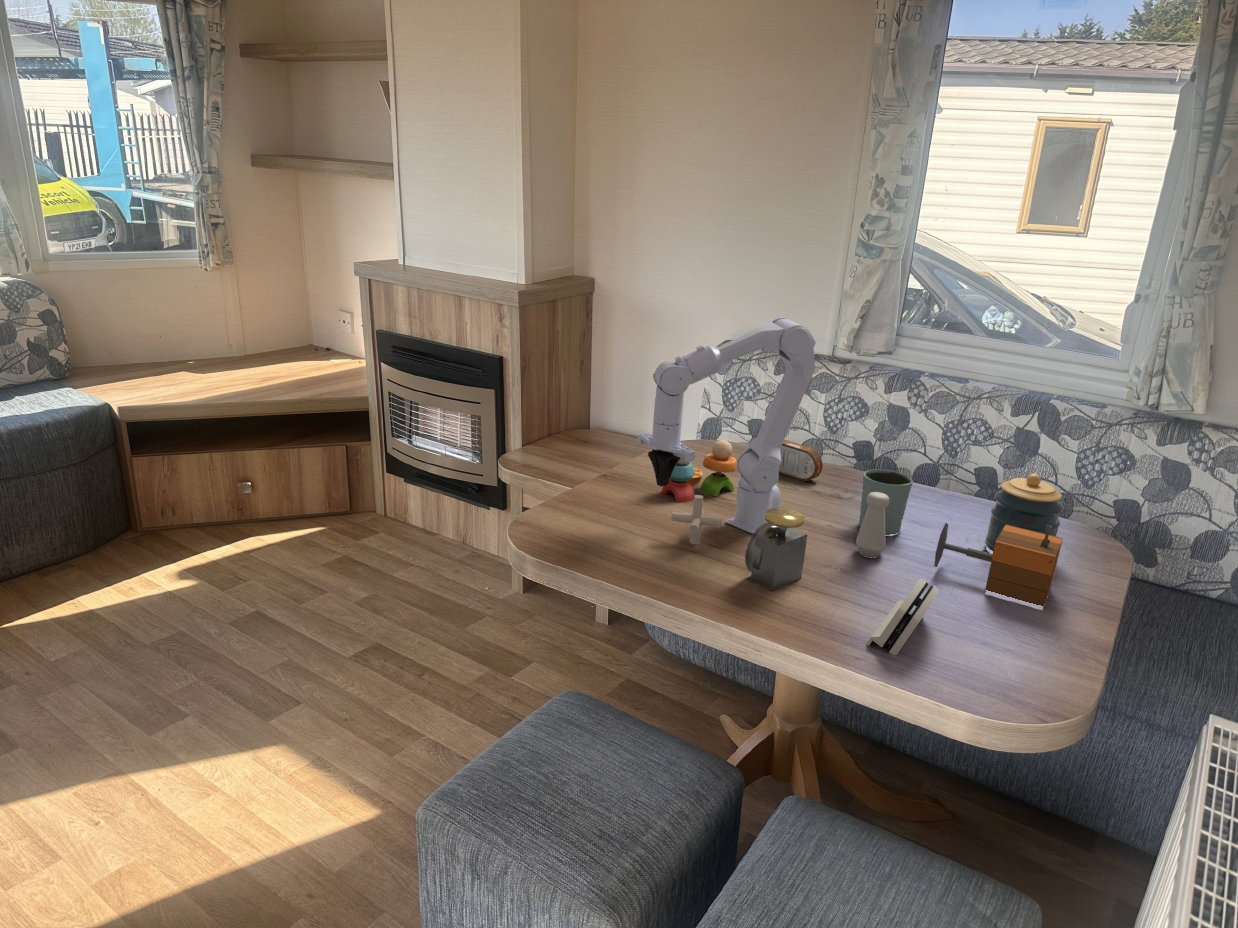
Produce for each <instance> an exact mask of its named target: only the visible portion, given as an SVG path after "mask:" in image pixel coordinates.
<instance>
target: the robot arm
mask: <svg viewBox="0 0 1238 928" xmlns="http://www.w3.org/2000/svg"><path fill="white" fill-rule="evenodd" d="M816 342H817V341H816V340H815V339H814V337H813V335H812V332H811V331H810V329H809V328H807V327H806V326H805V325H801V324H799V323H796V322H795V321H793V320H791V319H790V318H788V317H783V316H782V317H777V318H775V319H774V320H772V321H766V322H763V324H761V325H759V326H758V327H755V329H754V328H753V329H752V330H750V331H748V332H746V333H744V334H741V335H740V336H738V337H736V338H734V339H732V340H730V341H728V342H726V343H725V344H722V345H720V346H718V347H713V346H711V345H706V346H704V345H703V344H701V345H698V346H696V350H694V351H692V352H690V353H688V354H685V355H683V356H676V357H674V361H673V360H665V361H662V362H661V363H660V364H658V367H656V368H655V371H654V373H652V377H653V378H652V379H653V382H654V383H655V384H656V387H655V389H656V390H655V398H654V405H653V406H654V409H653V418H652V419H653V422H652V423H653V424H652V433H651V434H650V433H646V432H641V433H638V434H637V440H636V443H637V444H640V445H645V446H648V447H649V448H650V449H652V450H650V451H648V452H647V457H648V458H649V460H650V462H651V465H652V467H653V472H654V475H655V481H656V485H657V486H658V487H661V488H663V486H666V485H668V483H669V481H670V480H671V479H670V477H671V474H672V472H673V470H674V468H675V466H676V464H677V463H678V461H679V460H680V459H681V458H683V459H685V461H687V462H689V461H690V462H693V461H695V460H696V450H694V449H691V448H690V447H688V446H687V445H685V444H684V443H682V442H681V434H682V422H683V411H684V394H685V392H686V391H687V390H688V388H689V386H690V385H693V384H696V383H698V382H700V381H703V380H704V379H706V378H708V377H709V378H710V377H711V376H713V375H715V374H718V373H719V372H721V370H722V368H723V366H724V364H726V363H728V362H731V361H733V360H736V359H739V358H741V357H744V356H747V355H749V354H752V353H754V352H757V351H760V350H764V351H769V352H773V353H779V355H780V358H781V360H782V361H783V363H784V367H785V368H786V369H785V372H784V374H783V375H782V377H781V380H780V382H779V385H778V387H777V389H776V392H775V395H774V396H773V398H772V401H771V404H770V406H769V408H768V411H767V413H766V415H765V418H764V420H763V422H762V424H761V427H760V429H759V432H758V434H757V436H756V438H754V439H753V440H751V441H750V442H749V443H748V445H747V447H746V449H745V450H744V451H743V452H742V453H740V455H739V456H738V458H737V459H736V461H737V471H738V473H739V474H740V478H739V480H738V482H737V483H738V485H737V495H736V500H735V501H736V503H735V509H734V510H735V513H734V517H732V518H729V519H726V520H725V523H726V524H729V525H730V526H733V527H735V528H738V529H740V530H742V531H745V532H746V533H750V534H752V535H753V534H754V532H755V531H756V530H757V529H758V528H759V527H760V526H761V525H763V524H765V523H768V522H767V521H766V520H765V512H766V511H767V510H768V509H772V508H780V506H781V491H780V489H779V487H778V485H777V483H778V480H779V479H780V478H779V475H780V473H779V466H780V464H781V453H780V448H781V446H782V443H783V441H784V440H786V436H787V434H788V432H789V430H790V428H791V425H792V423H793V421H794V419H795V416H796V413H797V411H798V410H799V407H800V405H801V402H802V400H803V398H804V396H805V393H806V391H807V389H808V386H809V384H810V383H811V380H812V377H813V375H814V372H815V369H816V367H815V366H816V364H815V361H816V360H815V346H816V344H817V343H816Z"/></svg>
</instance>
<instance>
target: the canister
mask: <svg viewBox="0 0 1238 928" xmlns="http://www.w3.org/2000/svg"><path fill="white" fill-rule="evenodd" d="M1041 479H1042V478H1041V477H1040V475H1038V474H1037V473H1030V474H1029V475H1027V476H1026V477H1014V478H1012V479H1010V480H1006V481H1004V482H1002V483H1001V485H1000V487H1001V490H998V491H996V492H995V494H994V499H995V500H996V501H995V504H994V506H993V507H992V508H991V510H990V511H991V513H990V514H991V516H990V519H989V520H990V521H989V524H988V529H987V534H986V535H985V539H984V544H986V546H987V547H988V548H989V549H990V550H992V551H994V547H995V542H996V540H997V538H998V537H999V535H1000V533H1001V532H1002V530H1003V528H1004V526H1005V525H1006V524H1007V525H1011V526H1015V527H1019V528H1023V529H1028V530H1032V531H1036V532H1040V533H1044V534H1046V531H1045V530H1046V525H1050V526H1052V529H1051V532H1049V535H1053V536H1057V534H1058V529H1059V527H1060V525H1061V521H1060V520H1059V519H1060V517H1059V516H1060V514H1061V513H1063V511H1064V505H1063V504H1062V503H1061V502H1060V500H1061V499H1062V497H1063V494H1062V493H1060V491H1059V490H1057V489H1056V488H1055V486H1053V485H1051V484H1050V483H1048V482H1045V481H1042V480H1041Z"/></svg>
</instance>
